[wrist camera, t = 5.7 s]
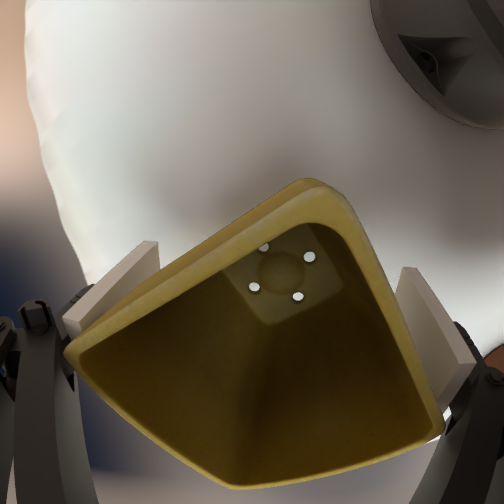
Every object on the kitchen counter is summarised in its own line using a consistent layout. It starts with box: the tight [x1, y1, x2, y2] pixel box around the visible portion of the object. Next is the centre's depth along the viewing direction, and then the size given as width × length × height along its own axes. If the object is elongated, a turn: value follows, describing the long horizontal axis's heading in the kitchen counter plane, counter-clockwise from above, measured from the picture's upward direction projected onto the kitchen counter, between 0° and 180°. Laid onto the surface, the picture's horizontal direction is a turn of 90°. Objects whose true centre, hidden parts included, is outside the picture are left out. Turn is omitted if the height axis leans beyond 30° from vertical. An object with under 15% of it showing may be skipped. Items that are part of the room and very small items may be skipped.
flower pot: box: [63, 178, 446, 490], centre depth 11 cm, size 9×9×9 cm
